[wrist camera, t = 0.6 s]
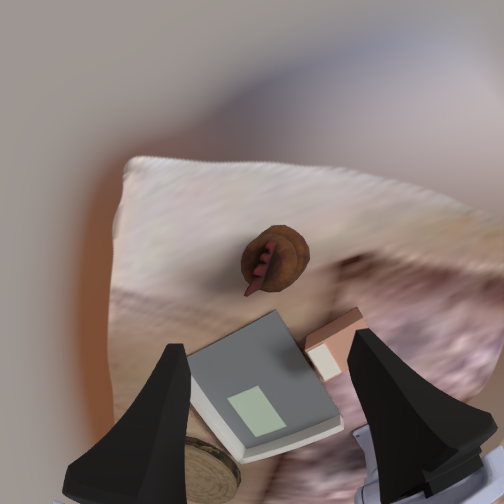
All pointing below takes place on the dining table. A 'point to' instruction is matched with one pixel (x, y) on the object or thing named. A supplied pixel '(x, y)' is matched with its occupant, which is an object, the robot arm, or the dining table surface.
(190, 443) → the wooden log slice
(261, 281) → the wooden figurine
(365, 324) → the terracotta block
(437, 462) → the robot arm
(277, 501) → the dining table surface
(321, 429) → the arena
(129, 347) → the dining table surface
